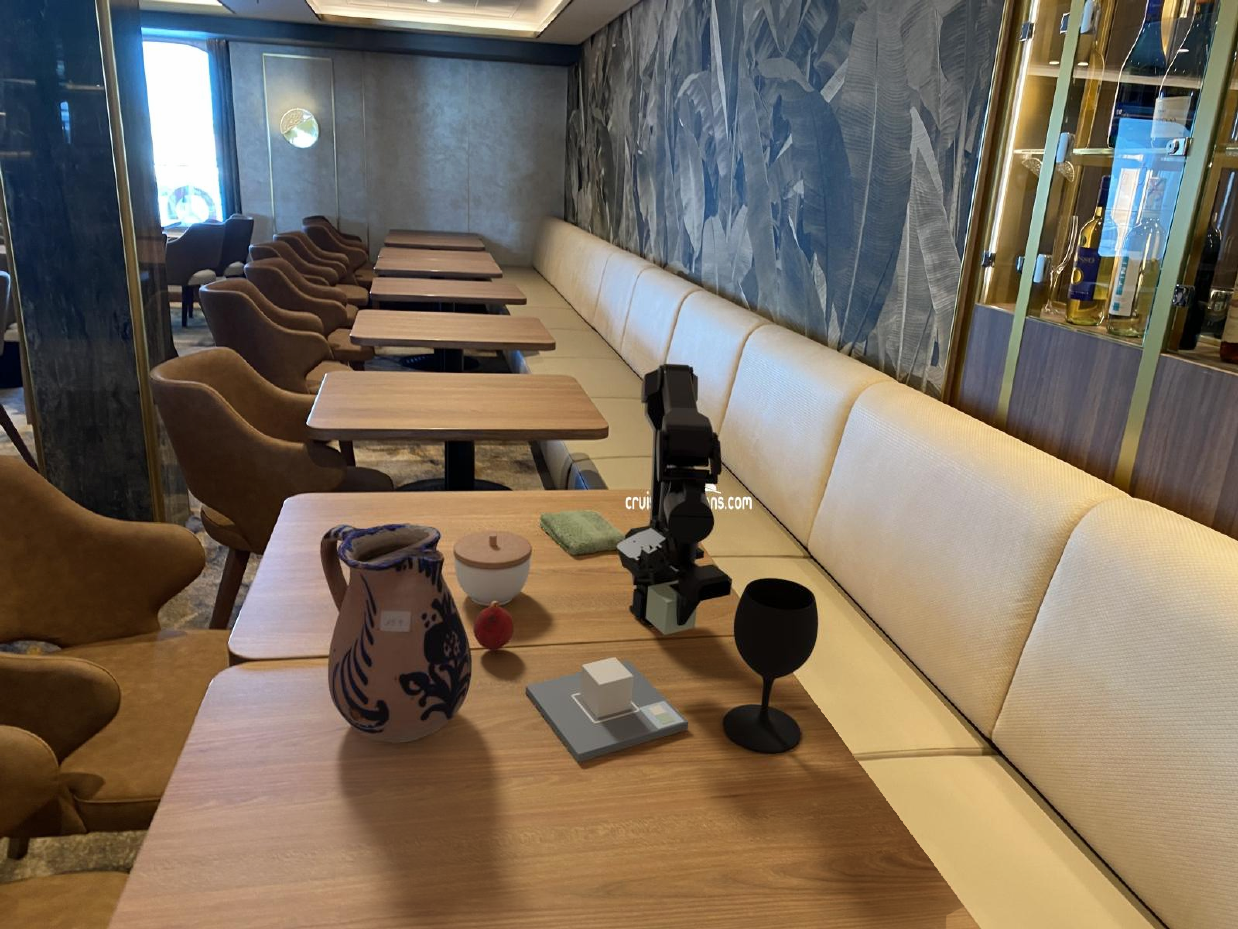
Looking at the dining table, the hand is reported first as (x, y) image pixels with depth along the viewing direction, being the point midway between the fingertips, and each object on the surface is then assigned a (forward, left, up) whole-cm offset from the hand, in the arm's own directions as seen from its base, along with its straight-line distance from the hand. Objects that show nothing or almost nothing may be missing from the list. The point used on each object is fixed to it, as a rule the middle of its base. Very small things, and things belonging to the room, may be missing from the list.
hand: (670, 616), depth 123 cm
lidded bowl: (+14, -32, -10) cm, 36 cm away
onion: (+20, -16, -10) cm, 27 cm away
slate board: (+12, +4, -10) cm, 16 cm away
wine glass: (-5, +16, -10) cm, 19 cm away
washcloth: (-11, -49, -10) cm, 51 cm away
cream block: (+12, +4, -8) cm, 15 cm away
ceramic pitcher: (+38, -6, -10) cm, 40 cm away
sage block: (0, 0, -1) cm, 1 cm away
